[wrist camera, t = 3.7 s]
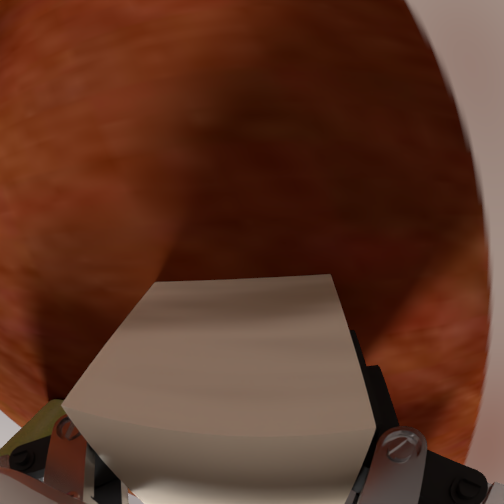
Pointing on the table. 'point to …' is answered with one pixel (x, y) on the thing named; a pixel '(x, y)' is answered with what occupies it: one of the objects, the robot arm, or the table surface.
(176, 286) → the birch block
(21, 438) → the plant pot
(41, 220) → the table surface
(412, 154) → the table surface
